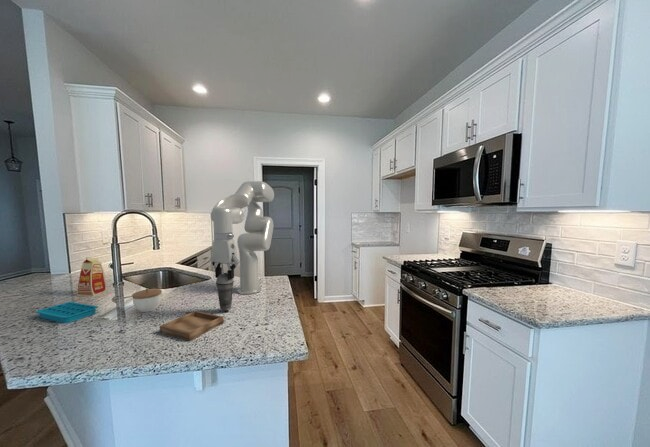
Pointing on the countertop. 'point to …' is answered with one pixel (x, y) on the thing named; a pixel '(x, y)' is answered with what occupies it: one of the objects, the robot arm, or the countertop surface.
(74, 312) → the ice cube tray
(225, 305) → the beverage cup
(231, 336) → the countertop surface
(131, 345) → the countertop surface
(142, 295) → the lidded jar
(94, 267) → the milk carton
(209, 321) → the walnut tray
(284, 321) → the countertop surface
